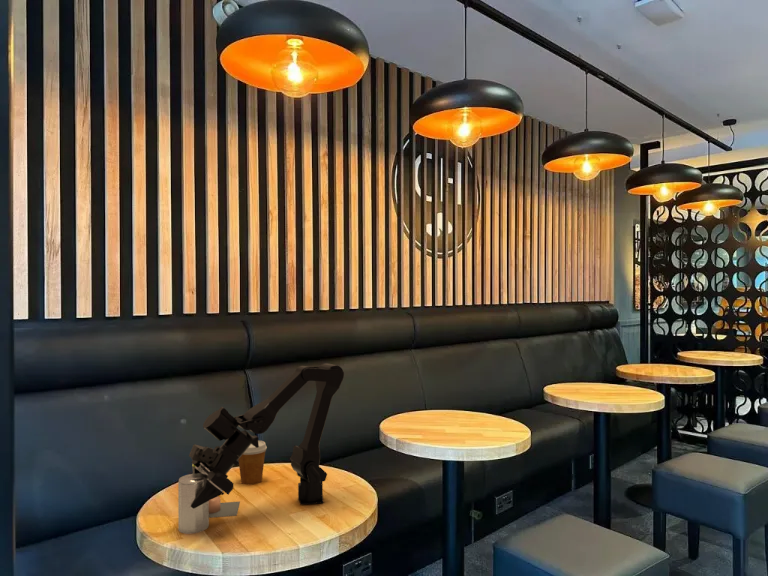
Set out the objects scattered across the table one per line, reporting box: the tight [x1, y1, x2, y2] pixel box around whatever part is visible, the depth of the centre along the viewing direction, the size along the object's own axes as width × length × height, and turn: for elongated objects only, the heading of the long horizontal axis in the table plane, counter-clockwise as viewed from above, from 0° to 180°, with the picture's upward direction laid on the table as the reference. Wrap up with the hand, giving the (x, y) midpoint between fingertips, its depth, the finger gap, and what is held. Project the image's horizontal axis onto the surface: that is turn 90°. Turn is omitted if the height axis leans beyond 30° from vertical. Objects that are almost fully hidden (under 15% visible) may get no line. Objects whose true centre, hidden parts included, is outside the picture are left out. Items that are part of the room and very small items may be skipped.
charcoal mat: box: [209, 501, 241, 519], centre depth 145 cm, size 14×10×1 cm
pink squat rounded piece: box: [209, 496, 221, 513], centre depth 145 cm, size 4×4×3 cm
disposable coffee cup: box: [238, 440, 268, 485], centre depth 169 cm, size 10×10×12 cm
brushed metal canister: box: [177, 473, 210, 535], centre depth 135 cm, size 7×7×12 cm
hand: (188, 502), depth 134 cm, fingers closed on brushed metal canister, 7 cm apart
